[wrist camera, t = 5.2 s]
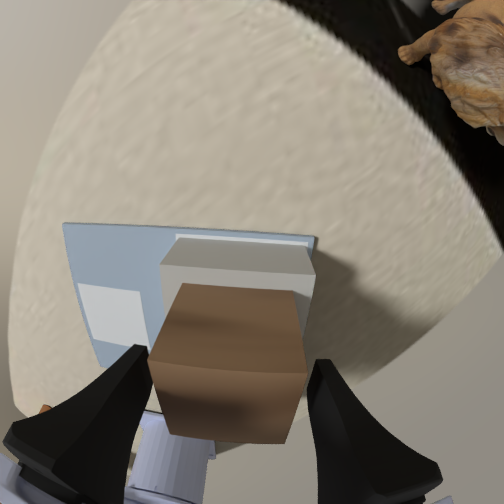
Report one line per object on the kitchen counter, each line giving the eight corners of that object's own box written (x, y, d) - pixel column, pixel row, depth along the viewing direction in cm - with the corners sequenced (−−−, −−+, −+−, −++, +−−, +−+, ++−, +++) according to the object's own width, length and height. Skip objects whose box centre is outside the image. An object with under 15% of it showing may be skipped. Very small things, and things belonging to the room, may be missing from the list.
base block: (288, 341, 18) (293, 380, 15) (185, 334, 18) (173, 370, 15) (304, 245, 15) (315, 275, 12) (179, 237, 15) (159, 264, 12)
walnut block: (279, 366, 14) (284, 443, 10) (189, 359, 14) (169, 434, 10) (292, 290, 12) (308, 373, 8) (182, 282, 12) (147, 359, 8)
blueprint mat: (284, 387, 20) (284, 390, 20) (101, 364, 20) (100, 366, 20) (313, 235, 15) (314, 237, 15) (64, 222, 15) (61, 224, 15)
